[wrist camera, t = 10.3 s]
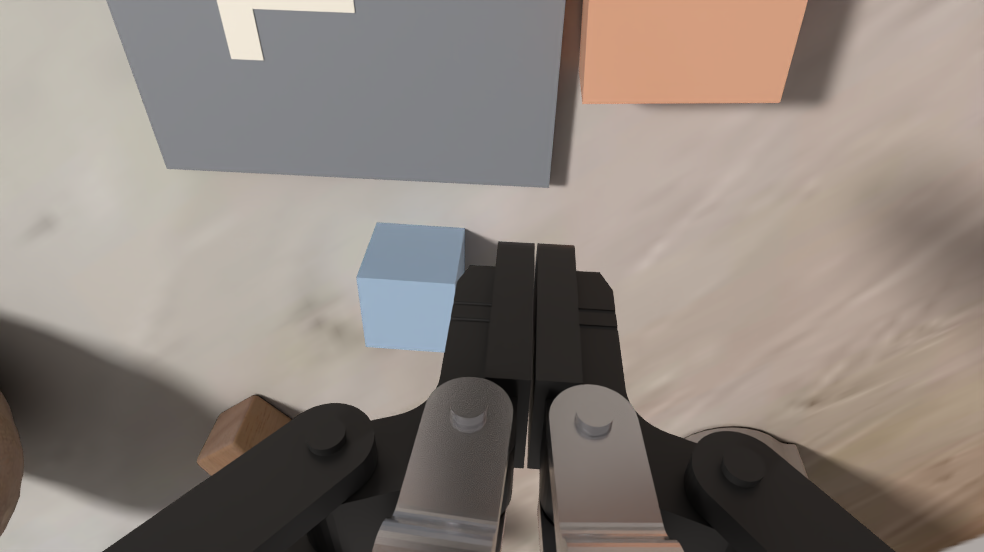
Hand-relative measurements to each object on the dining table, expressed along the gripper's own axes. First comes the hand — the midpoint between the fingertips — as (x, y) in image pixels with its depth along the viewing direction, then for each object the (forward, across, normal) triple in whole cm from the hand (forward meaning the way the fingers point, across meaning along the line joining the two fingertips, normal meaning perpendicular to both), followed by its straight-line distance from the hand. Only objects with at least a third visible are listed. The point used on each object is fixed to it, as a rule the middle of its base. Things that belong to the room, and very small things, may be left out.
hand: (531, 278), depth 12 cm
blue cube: (+19, +6, +14) cm, 25 cm away
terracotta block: (+19, -6, -2) cm, 20 cm away
